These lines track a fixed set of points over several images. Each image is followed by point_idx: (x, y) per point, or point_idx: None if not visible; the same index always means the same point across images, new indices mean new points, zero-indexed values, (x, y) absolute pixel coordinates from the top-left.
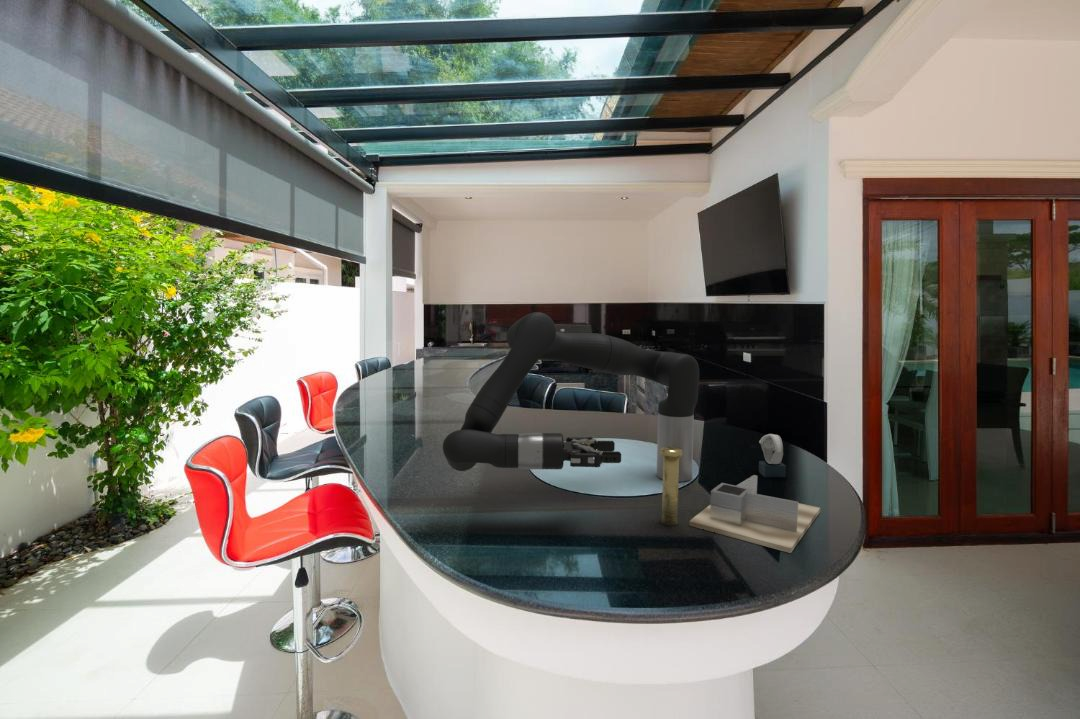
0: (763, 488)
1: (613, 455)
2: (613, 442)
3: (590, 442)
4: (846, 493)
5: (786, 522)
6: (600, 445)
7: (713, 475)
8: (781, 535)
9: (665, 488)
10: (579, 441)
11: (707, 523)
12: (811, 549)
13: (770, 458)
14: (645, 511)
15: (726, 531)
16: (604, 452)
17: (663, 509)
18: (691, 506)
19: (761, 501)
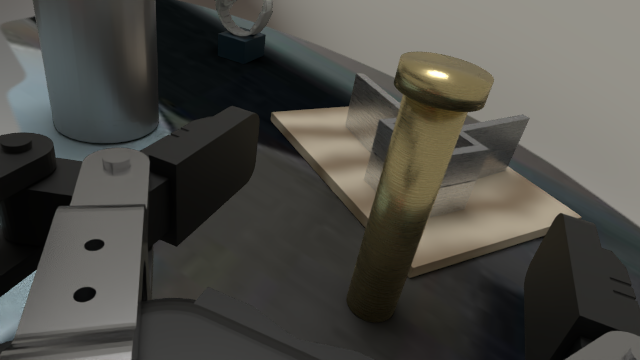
0: (285, 89)
1: (627, 286)
2: (256, 119)
3: (146, 219)
4: (358, 62)
5: (499, 161)
6: (194, 187)
7: (173, 87)
8: (520, 193)
9: (413, 225)
10: (133, 351)
11: (439, 246)
12: (556, 195)
13: (232, 24)
14: (261, 306)
15: (489, 245)
16: (616, 319)
17: (382, 287)
18: (296, 202)
19: (480, 138)
